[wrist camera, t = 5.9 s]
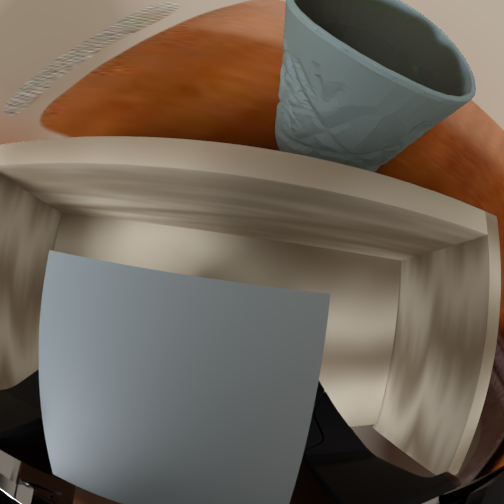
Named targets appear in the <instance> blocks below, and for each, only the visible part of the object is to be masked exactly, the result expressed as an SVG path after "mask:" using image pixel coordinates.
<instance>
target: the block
mask: <svg viewBox="0 0 504 504" xmlns="http://www.w3.org/2000/svg"><path fill="white" fill-rule="evenodd" d="M329 303H330V294H327V293H318V292H309V291H301V290H292V289H284V288H276V287H268V286H261V285H253V284H246V283H238V282H231V281H224V280H217V279H210V278H204V277H197V276H191V275H184V274H178V273H171V272H165V271H159V270H153V269H147V268H141V267H135V266H130V265H124V264H118V263H113V262H107V261H102V260H97V259H91V258H86V257H81V256H76V255H71V254H66V253H61V252H56V251H51V250H49V254H48V260H47V265H46V271H45V278H44V285H43V292H42V301H41V312H40V325H39V388H40V401H41V411H42V420H43V427H44V434H45V439H46V445H47V450H48V455H49V460H50V464H51V468H52V472H53V474H54V475H56V476H58V477H60V478H62V479H63V480H66V481H68V482H70V483H72V484H74V485H76V486H78V487H80V488H83V489H85V490H87V491H90V492H92V493H95V494H97V495H100V496H102V497H105V498H107V499H110V500H113V501H116V502H119V503H122V504H289V503H290V500H291V496H292V493H293V490H294V486H295V483H296V479H297V476H298V472H299V468H300V465H301V461H302V457H303V453H304V449H305V445H306V440H307V436H308V432H309V427H310V422H311V418H312V413H313V408H314V403H315V398H316V392H317V387H318V381H319V376H320V370H321V363H322V357H323V350H324V343H325V336H326V329H327V321H328V312H329Z"/></svg>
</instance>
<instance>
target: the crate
mask: <svg viewBox="0 0 504 504" xmlns="http://www.w3.org/2000/svg"><path fill="white" fill-rule="evenodd" d="M49 250H51V251H56V252H61V253H66V254H71V255H76V256H81V257H86V258H91V259H97V260H102V261H107V262H113V263H118V264H124V265H130V266H135V267H141V268H147V269H153V270H159V271H165V272H171V273H178V274H184V275H191V276H197V277H204V278H210V279H217V280H224V281H231V282H238V283H246V284H253V285H261V286H268V287H276V288H284V289H292V290H301V291H309V292H318V293H327V294H330V303H329V312H328V321H327V329H326V336H325V343H324V350H323V357H322V363H321V370H320V376H319V381H320V383H321V385H322V386H323V388H324V390H325V391H324V392H326V393H327V394H328V396H329V398H330V400H331V401H332V403H333V404H334V406H335V407H336V409H337V410H338V412H339V413H340V415H341V416H342V417H343V419H344V420H345V421H346V423H347V424H348V425H349V426H350V427H351V426H362V425H371V424H373V428H374V429H375V430H376V431H377V432H379V433H380V434H381V435H383V436H384V437H385V438H386V439H388V440H389V441H390V442H392V443H393V444H394V445H395V446H397V447H398V448H399V449H401V450H402V451H403V452H405V453H406V454H407V455H409V456H410V457H411V458H413V459H414V460H415V461H417V462H418V463H419V464H421V465H422V466H424V467H425V468H426V469H428V470H429V471H431V472H432V473H433V474H435V475H438V474H441V473H443V472H446V471H448V472H449V473H451V474H453V475H456V474H458V472H459V469H460V467H461V465H462V463H463V461H464V458H465V456H466V454H467V451H468V449H469V446H470V443H471V441H472V438H473V435H474V433H475V430H476V427H477V424H478V421H479V418H480V415H481V412H482V408H483V405H484V401H485V398H486V394H487V390H488V386H489V381H490V377H491V372H492V367H493V361H494V356H495V349H496V342H497V335H498V325H499V314H500V296H501V261H500V243H499V231H498V222H497V217H496V216H494V215H492V214H490V213H487V212H485V211H483V210H481V209H478V208H476V207H474V206H471V205H469V204H466V203H464V202H461V201H459V200H456V199H454V198H451V197H448V196H446V195H443V194H440V193H438V192H435V191H432V190H429V189H426V188H423V187H420V186H417V185H414V184H411V183H408V182H405V181H402V180H399V179H395V178H392V177H389V176H385V175H382V174H378V173H375V172H371V171H367V170H364V169H360V168H356V167H352V166H348V165H344V164H340V163H336V162H331V161H327V160H322V159H318V158H313V157H308V156H303V155H298V154H293V153H288V152H282V151H276V150H270V149H264V148H258V147H251V146H244V145H236V144H228V143H220V142H211V141H201V140H189V139H176V138H159V137H129V136H100V137H71V138H55V139H44V140H33V141H24V142H16V143H9V144H3V145H0V390H3V389H8V388H11V387H13V386H15V385H17V384H18V383H20V382H21V381H22V380H24V379H25V378H27V377H28V376H30V375H31V374H33V373H34V372H35V371H37V370H38V369H39V325H40V312H41V301H42V292H43V285H44V278H45V271H46V265H47V260H48V254H49Z"/></svg>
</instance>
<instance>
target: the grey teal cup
mask: <svg viewBox="0 0 504 504" xmlns="http://www.w3.org/2000/svg"><path fill="white" fill-rule="evenodd" d="M283 51H284V56H283V64H282V68H281V78H280V89H279V94H278V96H279V99H280V102H279V103H278V105H277V112H276V121H275V137H276V142H277V145H278V148H279V150H280V151H282V152H288V153H293V154H298V155H303V156H308V157H313V158H318V159H322V160H327V161H331V162H336V163H340V164H344V165H348V166H352V167H356V168H360V169H364V170H367V171H371V172H375V171H377V170H378V168H379V167H380V165H384V164H386V163H387V162H388V161H390V160H391V159H393V158H394V157H395V156H396V155H397V154H399V153H401V152H402V151H403V150H405V149H406V148H407V147H408V145H410V144H412V143H413V142H414V141H415V140H417V139H419V138H420V137H421V136H422V135H423V134H424V133H425V132H427V131H428V130H430V129H431V128H433V127H434V126H435V125H436V124H437V123H439V122H441V121H442V120H444V119H445V118H446V117H448V116H449V115H451V114H452V113H453V112H455V111H456V110H458V109H459V108H460V107H462V106H463V105H464V104H466V103H467V102H469V101H470V100H471V99H472V98H473V97H474V95H475V90H476V87H475V80H474V76H473V73H472V71H471V69H470V67H469V65H468V63H467V61H466V59H465V58H464V56H463V55H462V54H461V52H460V51H459V50H458V48H457V47H456V46H455V44H454V43H453V42H452V41H451V40H450V39H449V38H448V37H447V36H446V35H445V34H444V33H443V32H442V31H441V30H440V29H439V28H438V27H437V26H436V25H435V24H433V23H432V22H431V21H430V20H428V19H427V18H426V17H425V16H423V15H422V14H421V13H419V12H418V11H416V10H414V9H413V8H411V7H410V6H408V5H407V4H404V3H403V2H401V1H400V0H286V9H285V26H284V40H283Z"/></svg>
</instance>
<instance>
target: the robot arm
mask: <svg viewBox="0 0 504 504" xmlns="http://www.w3.org/2000/svg"><path fill="white" fill-rule="evenodd" d="M324 391H325V390H324V388H323V386H322V385H321V383H320V381H318V387H317V392H316V398H315V403H314V408H313V413H312V418H311V422H310V427H309V432H308V436H307V440H306V445H305V449H304V453H303V457H302V461H301V465H300V468H299V472H298V476H297V479H296V483H295V486H294V490H293V493H292V496H291V500H290V503H289V504H504V466H502V467H500V468H499V469H497V470H495V471H493V472H491V473H489V474H487V475H485V476H483V477H481V478H479V479H477V480H475V481H472V482H470V483H468V484H466V485H463V486H461V487H458V486H460V485H461V483H460V481H459V479H458V478H457V477H455V476H454V475H453V474H451V473H449V472H448V471H446V472H443V473H441V474H438V475H436V476H434V477H422V476H418V475H415V474H413V473H411V472H408V471H406V470H404V469H402V468H400V467H397V466H395V465H393V464H391V463H389V462H387V461H385V460H383V459H381V458H379V457H377V456H376V455H374V454H373V453H372V452H371V451H370V450H369V449H368V448H366V446H365V445H364V444H363V443H362V442H361V440H360V439H359V438H358V436H357V435H356V434H355V433H354V431H353V430H352V429H351V428H350V426H349V425H348V424H347V423H346V421H345V420H344V419H343V417H342V416H341V415H340V413H339V412H338V410H337V409H336V407H335V406H334V404H333V403H332V401H331V400H330V398H329V396H328V394H327V393H326V392H324ZM457 487H458V488H457ZM455 488H456V489H455ZM75 490H76V485H74V484H72V483H70V482H68V481H66V480H63V479H62V478H60V477H58V476H56V475H54V474H53V472H52V468H51V464H50V460H49V455H48V450H47V445H46V439H45V434H44V427H43V420H42V411H41V401H40V388H39V369H38V370H37V371H35V372H34V373H33V374H31V375H30V376H28V377H27V378H25V379H24V380H22V381H21V382H20V383H18V384H17V385H15V386H13V387H11V388H8V389H3V390H0V504H73V499H74V494H75Z"/></svg>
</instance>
